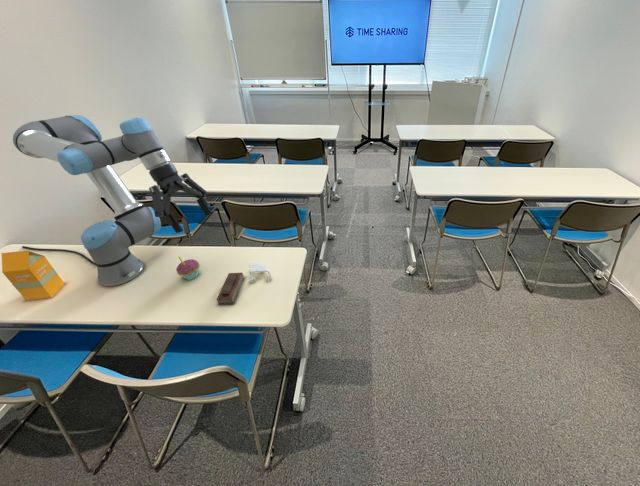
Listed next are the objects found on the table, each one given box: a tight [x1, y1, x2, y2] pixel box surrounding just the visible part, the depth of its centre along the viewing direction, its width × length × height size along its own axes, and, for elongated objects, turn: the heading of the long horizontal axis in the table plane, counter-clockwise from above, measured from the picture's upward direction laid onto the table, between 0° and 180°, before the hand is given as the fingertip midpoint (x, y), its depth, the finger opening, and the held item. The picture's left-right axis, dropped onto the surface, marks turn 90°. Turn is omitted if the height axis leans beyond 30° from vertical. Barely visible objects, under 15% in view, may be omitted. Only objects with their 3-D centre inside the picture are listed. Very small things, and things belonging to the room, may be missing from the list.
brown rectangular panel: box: [216, 272, 245, 306], centre depth 114 cm, size 14×6×4 cm, turn 3°
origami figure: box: [247, 263, 273, 283], centre depth 120 cm, size 12×8×5 cm
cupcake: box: [175, 255, 201, 281], centre depth 120 cm, size 9×8×12 cm
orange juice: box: [1, 250, 65, 301], centre depth 110 cm, size 8×9×20 cm
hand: (195, 222), depth 103 cm, fingers open, 13 cm apart
